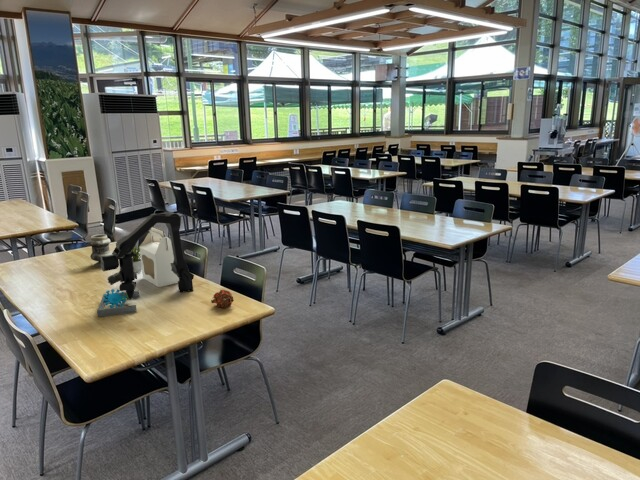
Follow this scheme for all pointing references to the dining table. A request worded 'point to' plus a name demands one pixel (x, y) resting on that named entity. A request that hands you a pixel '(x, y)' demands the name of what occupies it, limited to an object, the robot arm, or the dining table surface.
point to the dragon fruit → (223, 298)
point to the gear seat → (116, 310)
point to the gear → (115, 298)
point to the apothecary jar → (99, 248)
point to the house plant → (136, 260)
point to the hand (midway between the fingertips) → (130, 298)
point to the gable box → (157, 259)
